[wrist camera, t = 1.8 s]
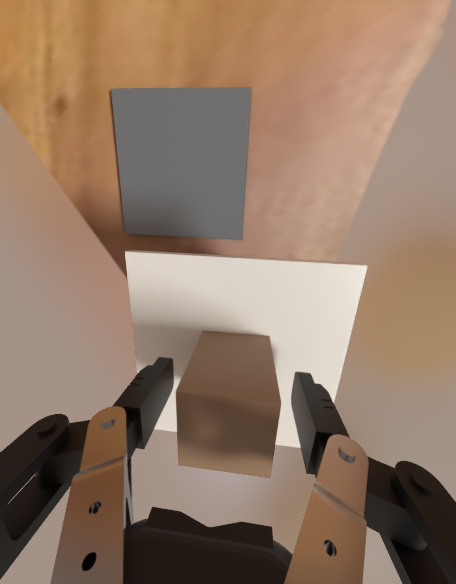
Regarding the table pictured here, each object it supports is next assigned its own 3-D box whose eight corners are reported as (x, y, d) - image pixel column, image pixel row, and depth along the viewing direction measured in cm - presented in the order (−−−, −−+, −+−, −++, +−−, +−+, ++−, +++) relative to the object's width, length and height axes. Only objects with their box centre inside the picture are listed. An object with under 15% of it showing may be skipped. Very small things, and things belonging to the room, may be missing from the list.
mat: (114, 91, 23) (110, 88, 23) (251, 90, 22) (251, 87, 21) (127, 233, 28) (125, 233, 27) (242, 239, 26) (242, 240, 26)
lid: (132, 250, 13) (41, 268, 7) (359, 262, 12) (459, 296, 6) (147, 418, 17) (96, 514, 11) (318, 439, 15) (356, 557, 10)
